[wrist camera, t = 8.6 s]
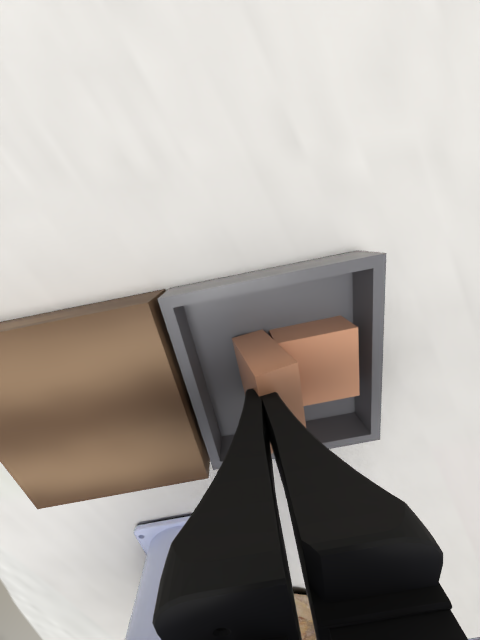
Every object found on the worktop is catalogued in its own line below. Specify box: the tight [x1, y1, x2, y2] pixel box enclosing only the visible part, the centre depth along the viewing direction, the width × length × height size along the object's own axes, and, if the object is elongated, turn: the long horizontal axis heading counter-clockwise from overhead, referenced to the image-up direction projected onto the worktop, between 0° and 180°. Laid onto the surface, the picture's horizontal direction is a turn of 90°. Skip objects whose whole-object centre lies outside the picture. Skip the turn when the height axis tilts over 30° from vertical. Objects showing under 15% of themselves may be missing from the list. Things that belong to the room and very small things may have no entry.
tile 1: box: [269, 315, 360, 406], centre depth 14 cm, size 4×4×2 cm
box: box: [157, 251, 386, 470], centre depth 14 cm, size 12×11×2 cm
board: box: [0, 289, 210, 509], centre depth 14 cm, size 12×12×3 cm
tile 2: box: [232, 329, 306, 454], centre depth 12 cm, size 4×4×2 cm
